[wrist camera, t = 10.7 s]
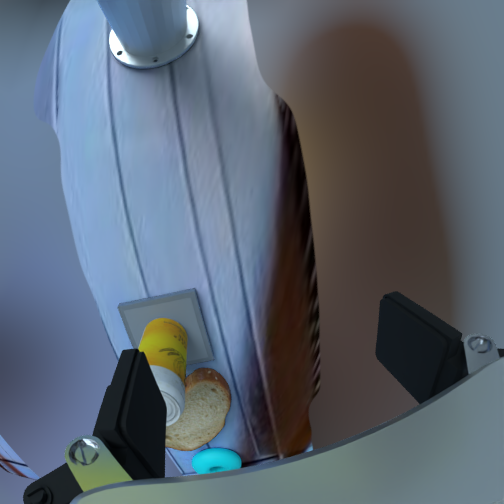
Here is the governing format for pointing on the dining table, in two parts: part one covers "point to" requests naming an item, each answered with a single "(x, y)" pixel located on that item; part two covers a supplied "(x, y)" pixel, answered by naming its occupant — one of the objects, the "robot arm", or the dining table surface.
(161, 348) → the beer can
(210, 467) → the donuts
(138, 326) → the slate coaster
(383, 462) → the robot arm
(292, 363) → the dining table surface
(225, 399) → the bread slice
